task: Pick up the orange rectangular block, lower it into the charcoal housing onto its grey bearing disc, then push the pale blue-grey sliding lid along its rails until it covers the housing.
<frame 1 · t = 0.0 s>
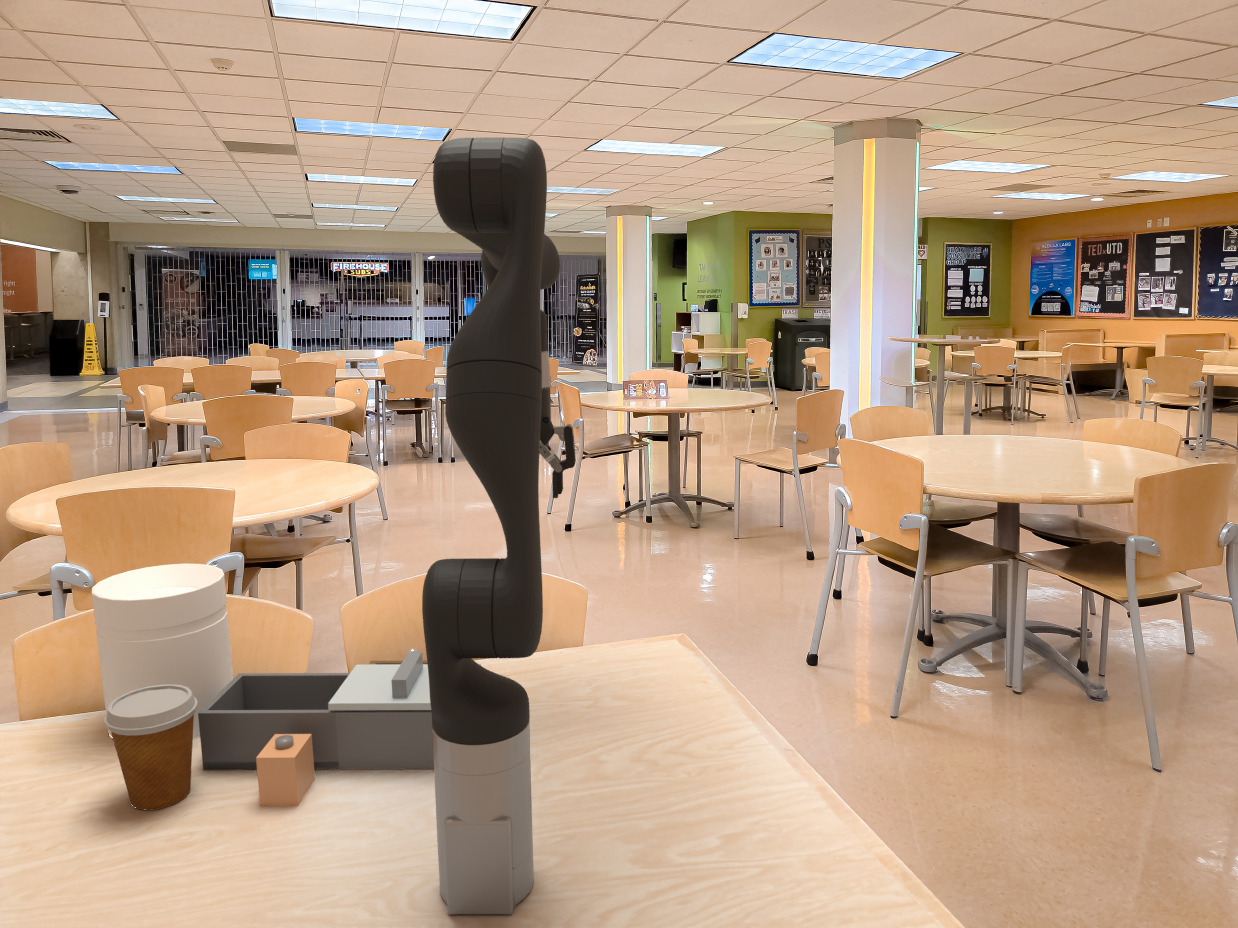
hand: (526, 497, 126), 29 cm above the table, fingers open, 8 cm apart
disposable coffee cup: (161, 797, 104), on the table
housing: (288, 745, 115), on the table
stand: (411, 704, 128), resting in parts frame
lid: (408, 677, 113), point 9 cm above the table, slide at 16.0 cm
canister: (173, 719, 123), on the table
orange rectangular block: (288, 792, 104), on the table
parts frame: (411, 701, 128), on the table
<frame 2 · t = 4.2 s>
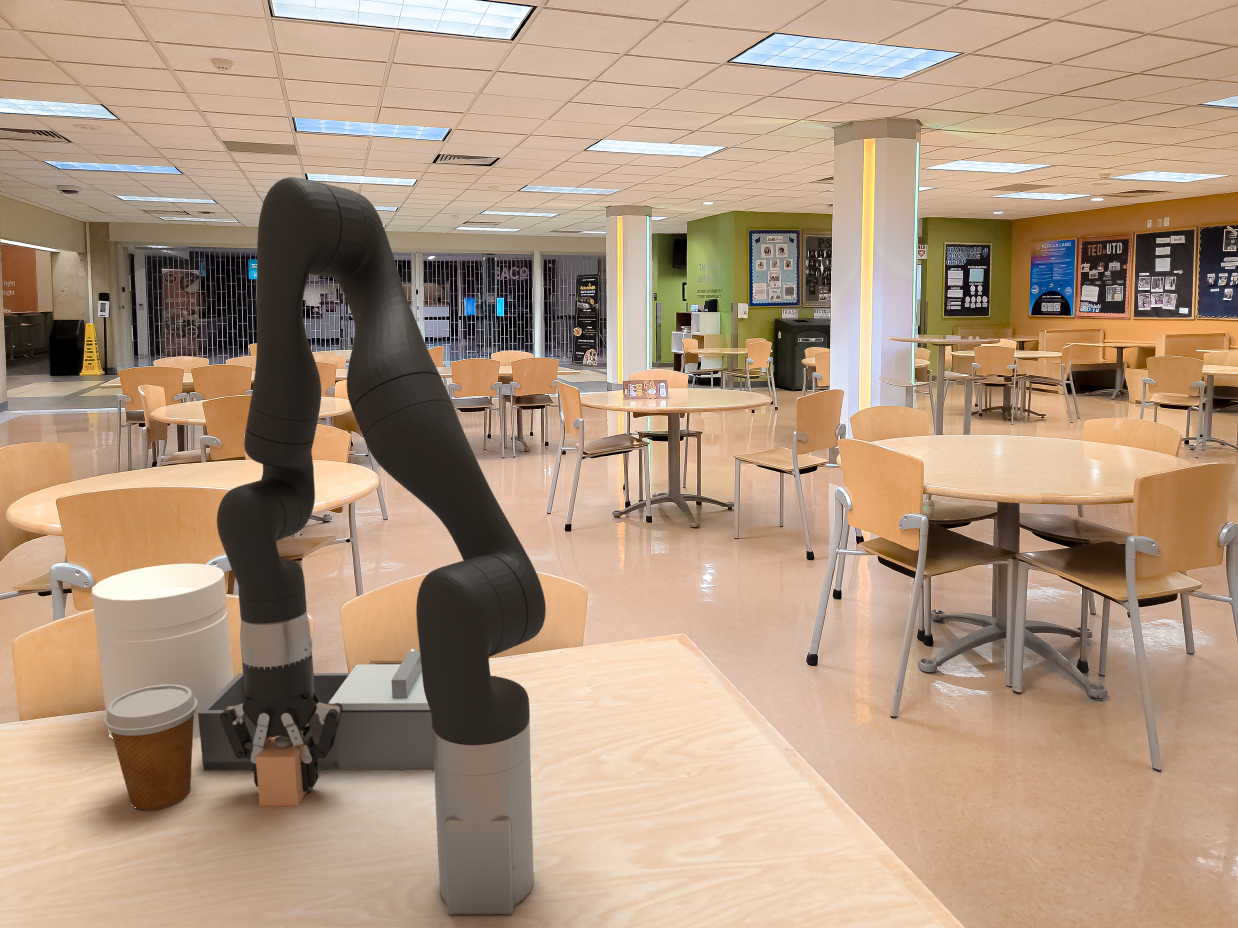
hand: (287, 787, 104), 1 cm above the table, fingers closed on orange rectangular block, 4 cm apart
orange rectangular block: (287, 791, 104), on the table, touching gripper
everything else where it was.
when the fingers open (3 cm above the table, at t = 9.1 s): orange rectangular block stays where it is, resting on housing.
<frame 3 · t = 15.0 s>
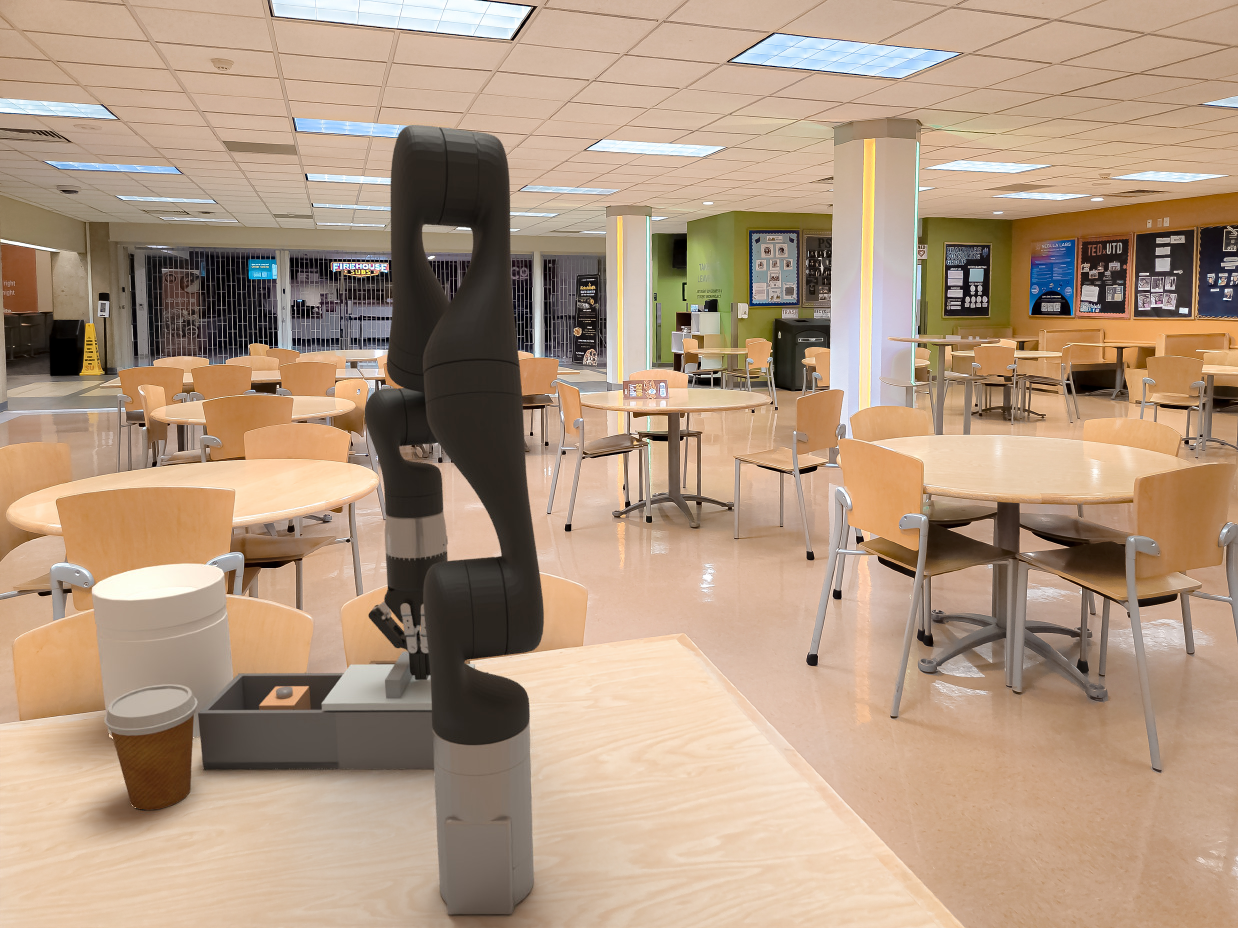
hand: (422, 677, 113), 9 cm above the table, fingers closed
lid: (401, 677, 113), point 9 cm above the table, slide at 15.2 cm, touching gripper
orange rectangular block: (288, 738, 115), point 1 cm above the table, touching housing
everything else where it was.
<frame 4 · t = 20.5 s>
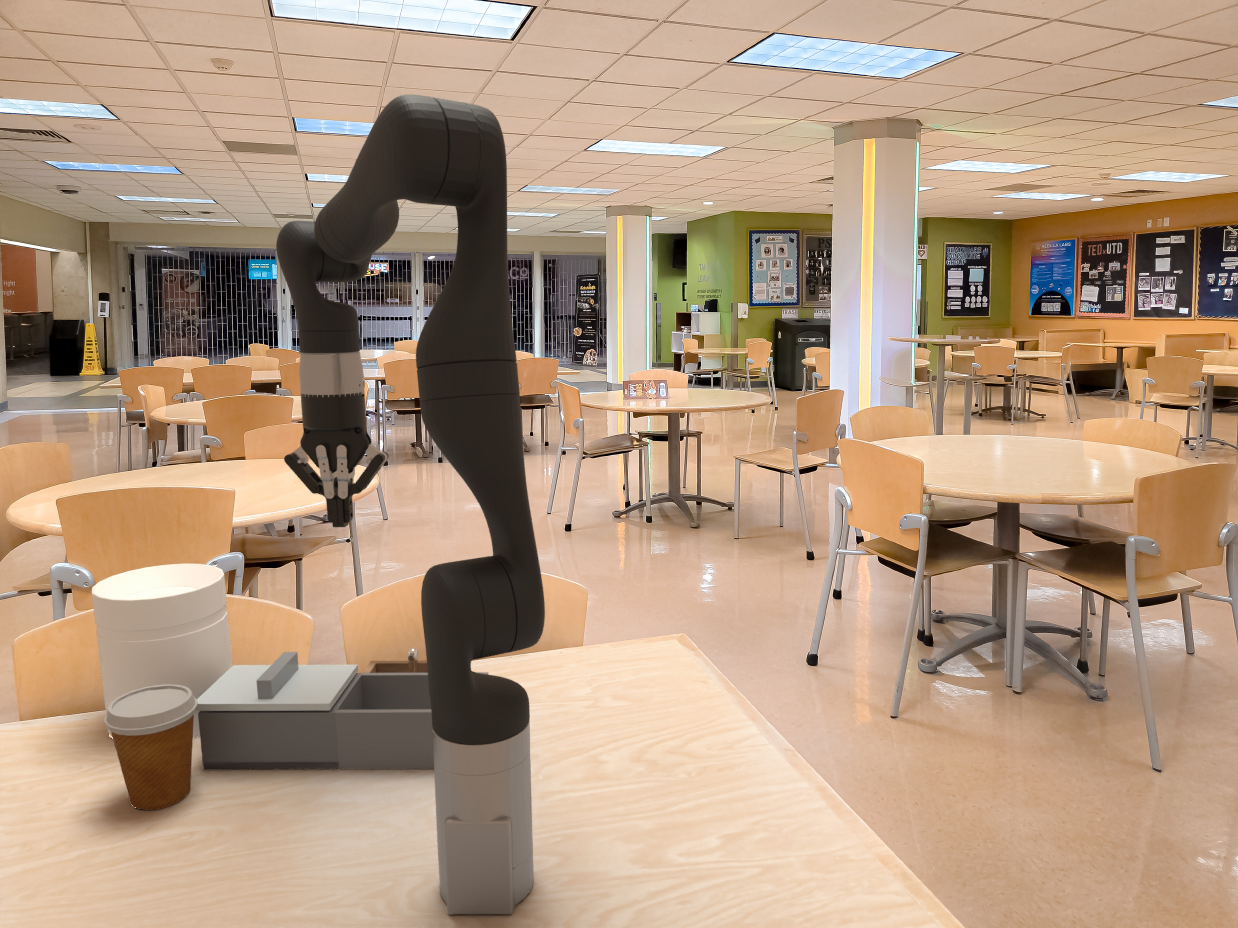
hand: (341, 525, 112), 29 cm above the table, fingers closed
lid: (278, 677, 113), point 9 cm above the table, slide at -0.6 cm
everything else where it was.
at the end: orange rectangular block inside the target area on the housing (0.0 cm from its centre), point 1.0 cm above the housing's base; lid slide at -0.6 cm; the gripper is holding nothing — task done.
